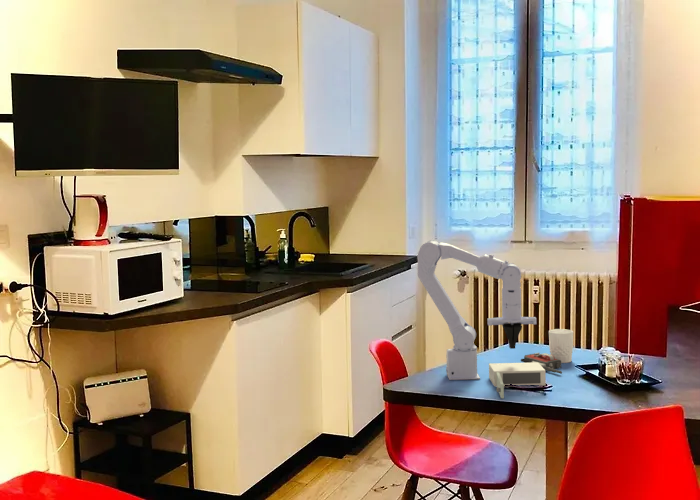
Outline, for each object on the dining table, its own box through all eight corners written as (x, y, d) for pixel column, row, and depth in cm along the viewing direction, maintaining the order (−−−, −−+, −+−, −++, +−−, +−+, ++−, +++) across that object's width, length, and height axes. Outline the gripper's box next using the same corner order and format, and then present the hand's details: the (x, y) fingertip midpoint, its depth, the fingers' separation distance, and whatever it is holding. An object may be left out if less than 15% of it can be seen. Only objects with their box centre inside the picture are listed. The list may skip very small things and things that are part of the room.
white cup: (578, 361, 252) (578, 331, 251) (562, 364, 248) (562, 334, 247) (559, 357, 259) (559, 328, 258) (543, 360, 254) (543, 331, 253)
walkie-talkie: (515, 364, 251) (558, 377, 233) (515, 351, 251) (558, 363, 233) (535, 361, 255) (579, 373, 238) (535, 348, 255) (579, 359, 237)
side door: (493, 385, 224) (493, 372, 223) (499, 385, 223) (499, 372, 223) (497, 398, 211) (497, 384, 210) (503, 398, 211) (503, 384, 210)
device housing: (494, 386, 224) (494, 371, 224) (489, 377, 234) (488, 363, 234) (545, 385, 223) (545, 370, 223) (538, 376, 234) (538, 362, 233)
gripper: (489, 306, 227) (490, 351, 228) (538, 305, 227) (539, 350, 228) (486, 302, 234) (486, 346, 235) (533, 301, 234) (533, 345, 235)
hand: (512, 347), depth 232 cm, fingers closed
